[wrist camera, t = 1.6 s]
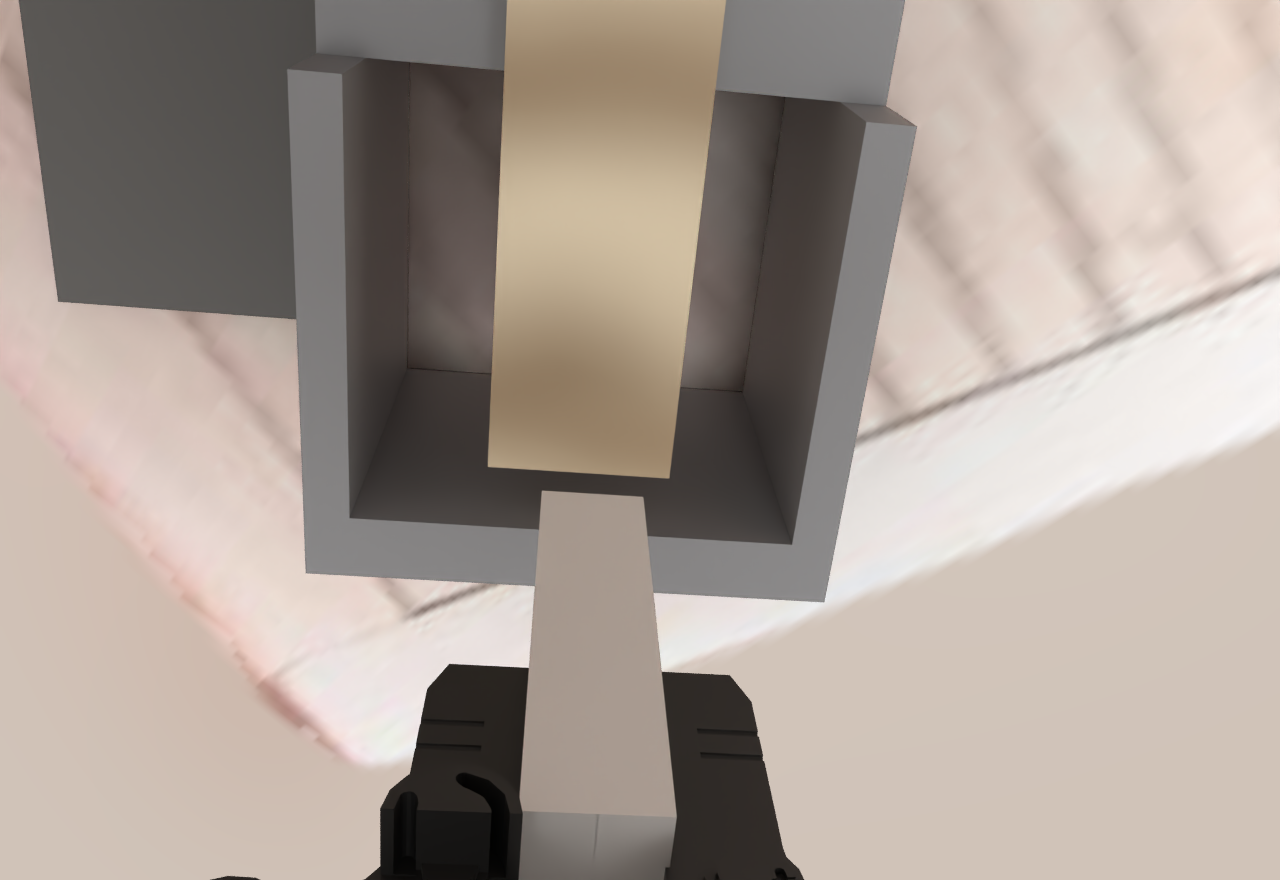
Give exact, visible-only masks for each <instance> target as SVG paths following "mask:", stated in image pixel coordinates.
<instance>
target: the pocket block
mask: <svg viewBox="0 0 1280 880" xmlns="http://www.w3.org/2000/svg"><path fill="white" fill-rule="evenodd" d="M904 3H905V0H726V5H725V14H724V22H723V30H722V39H721V47H720V56H719V64H718V72H717V81H716V89H715V90H718V91H728V92H739V93H750V94H761V95H772V96H783V97H785V102H784V109H783V116H782V123H781V130H780V137H779V144H778V150H777V157H776V164H775V171H774V178H773V185H772V192H771V199H770V206H769V213H768V220H767V227H766V233H765V240H764V247H763V254H762V261H761V268H760V275H759V282H758V289H757V296H756V303H755V310H754V316H753V323H752V330H751V337H750V344H749V351H748V358H747V365H746V372H745V379H744V386H743V392H734V391H720V390H706V389H691V388H680V392H679V401H678V409H677V418H676V426H675V434H674V443H673V451H672V460H671V468H670V476H669V478H654V477H638V476H622V475H607V474H591V473H576V472H560V471H545V470H529V469H514V468H498V467H488V449H489V425H490V401H491V377H492V374H480V373H466V372H452V371H438V370H424V369H409V368H407V347H408V214H409V80H410V62H415V63H426V64H437V65H447V66H458V67H469V68H480V69H491V70H502V71H504V65H505V41H506V17H507V0H315V20H316V54H314V55H312V56H311V57H309V58H307V59H305V60H303V61H301V62H300V63H298V64H296V65H294V66H292V67H290V68H288V69H287V74H288V102H289V129H290V156H291V183H292V211H293V238H294V265H295V292H296V320H297V347H298V374H299V402H300V429H301V456H302V483H303V511H304V538H305V565H306V573H312V574H329V575H347V576H365V577H383V578H401V579H419V580H436V581H454V582H472V583H490V584H508V585H526V586H535V578H536V565H537V551H538V537H539V524H540V510H541V496H542V491H556V492H572V493H588V494H604V495H620V496H636V497H643V499H644V509H645V518H646V528H647V537H648V547H649V556H650V566H651V576H652V585H653V593H668V594H686V595H704V596H722V597H740V598H757V599H775V600H793V601H811V602H824V601H825V596H826V591H827V586H828V581H829V575H830V570H831V565H832V560H833V555H834V550H835V545H836V539H837V534H838V529H839V524H840V519H841V514H842V509H843V503H844V498H845V493H846V488H847V483H848V478H849V473H850V468H851V462H852V457H853V452H854V447H855V442H856V437H857V432H858V426H859V421H860V416H861V411H862V406H863V401H864V396H865V391H866V385H867V380H868V375H869V370H870V365H871V360H872V355H873V349H874V344H875V339H876V334H877V329H878V324H879V319H880V313H881V308H882V303H883V298H884V293H885V288H886V283H887V278H888V272H889V267H890V262H891V257H892V252H893V247H894V242H895V236H896V231H897V226H898V221H899V216H900V211H901V206H902V200H903V195H904V190H905V185H906V180H907V175H908V170H909V165H910V159H911V154H912V149H913V144H914V139H915V134H916V129H917V126H915V125H914V124H912V123H911V122H909V121H908V120H906V119H905V118H903V117H902V116H900V115H899V114H897V113H896V112H894V111H893V110H891V109H890V108H888V107H886V102H887V97H888V91H889V86H890V80H891V75H892V69H893V64H894V58H895V53H896V47H897V42H898V36H899V31H900V25H901V20H902V14H903V9H904Z"/></svg>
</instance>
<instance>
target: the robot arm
mask: <svg viewBox="0 0 1280 880" xmlns="http://www.w3.org/2000/svg"><path fill="white" fill-rule="evenodd" d="M757 732H758V731H757V726H756V722H755V717H754V712H753V707H752V703H751V701H750V700H749V699H748V697H747V696H746V695H745V694H744V692H743V691H742V690H741V689H740V687H739V686H738V685H737V684H736V682H735V681H734V680H733V679H732V678H731V676H730V675H714V674H694V673H674V672H662V671H661V661H660V652H659V642H658V633H657V623H656V614H655V604H654V595H653V585H652V576H651V566H650V556H649V547H648V537H647V528H646V518H645V509H644V499H643V497H636V496H620V495H604V494H588V493H572V492H556V491H542V496H541V510H540V524H539V537H538V551H537V565H536V578H535V592H534V606H533V620H532V633H531V647H530V661H529V668H519V667H499V666H479V665H459V664H449V665H448V666H447V667H446V668H445V670H444V671H443V672H442V673H441V674H440V675H439V676H438V677H437V679H436V680H435V681H434V682H433V683H432V684H431V685H430V686H429V688H428V689H427V693H426V698H425V703H424V707H423V712H422V717H421V724H420V727H419V732H418V737H417V742H416V749H415V752H414V757H413V761H412V766H411V772H410V774H409V775H408V776H406V777H405V778H404V779H403V780H401V781H400V782H399V783H398V784H396V785H395V786H394V787H393V788H392V789H390V791H389V793H388V795H387V797H386V799H385V801H384V803H383V804H382V806H381V808H380V811H381V812H380V825H381V826H380V831H381V832H380V834H381V836H380V841H381V843H380V844H381V846H380V849H381V850H380V851H381V852H380V853H381V854H380V856H381V857H380V858H381V860H380V864H381V866H380V867H379V868H378V869H377V870H376V871H374V872H373V873H372V874H371V875H370V876H368V877H367V878H366V879H364V880H804V879H803V876H802V875H801V872H800V870H799V869H798V868H797V867H796V866H795V865H794V864H793V863H792V862H791V861H790V860H789V859H788V858H787V857H786V855H785V852H784V850H783V846H782V842H781V837H780V833H779V828H778V823H777V819H776V814H775V809H774V805H773V800H772V796H771V791H770V786H769V781H768V777H767V772H766V768H765V763H764V761H763V758H762V757H763V754H762V749H761V744H760V740H759V737H758V736H757ZM212 880H259V879H257V878H251V877H235V876H226V877H221V878H217V879H212Z"/></svg>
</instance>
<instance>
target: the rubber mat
mask: <svg viewBox="0 0 1280 880" xmlns="http://www.w3.org/2000/svg"><path fill="white" fill-rule="evenodd" d="M19 5H20V12H21V20H22V28H23V35H24V43H25V51H26V58H27V66H28V74H29V81H30V89H31V97H32V104H33V112H34V120H35V127H36V135H37V143H38V150H39V158H40V166H41V173H42V181H43V189H44V196H45V204H46V212H47V219H48V227H49V235H50V242H51V250H52V258H53V266H54V273H55V281H56V289H57V296H58V302H71V303H84V304H98V305H111V306H125V307H139V308H152V309H166V310H179V311H193V312H206V313H220V314H233V315H247V316H260V317H274V318H288V319H296V292H295V265H294V238H293V211H292V183H291V156H290V129H289V102H288V74H287V69H288V68H290V67H292V66H294V65H296V64H298V63H300V62H301V61H303V60H305V59H307V58H309V57H311V56H312V55H314V54H316V20H315V0H19Z"/></svg>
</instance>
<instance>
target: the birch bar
mask: <svg viewBox="0 0 1280 880" xmlns="http://www.w3.org/2000/svg"><path fill="white" fill-rule="evenodd" d="M725 5H726V0H507V17H506V41H505V65H504V89H503V113H502V137H501V161H500V185H499V209H498V233H497V257H496V281H495V305H494V329H493V353H492V377H491V401H490V425H489V449H488V467H498V468H514V469H529V470H545V471H560V472H576V473H591V474H607V475H622V476H638V477H654V478H669V476H670V468H671V460H672V451H673V443H674V434H675V426H676V418H677V409H678V401H679V392H680V384H681V375H682V367H683V359H684V350H685V342H686V333H687V325H688V317H689V308H690V300H691V291H692V283H693V274H694V266H695V258H696V249H697V241H698V232H699V224H700V216H701V207H702V199H703V190H704V182H705V173H706V165H707V157H708V148H709V140H710V131H711V123H712V115H713V106H714V98H715V89H716V81H717V72H718V64H719V56H720V47H721V39H722V30H723V22H724V14H725Z"/></svg>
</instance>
